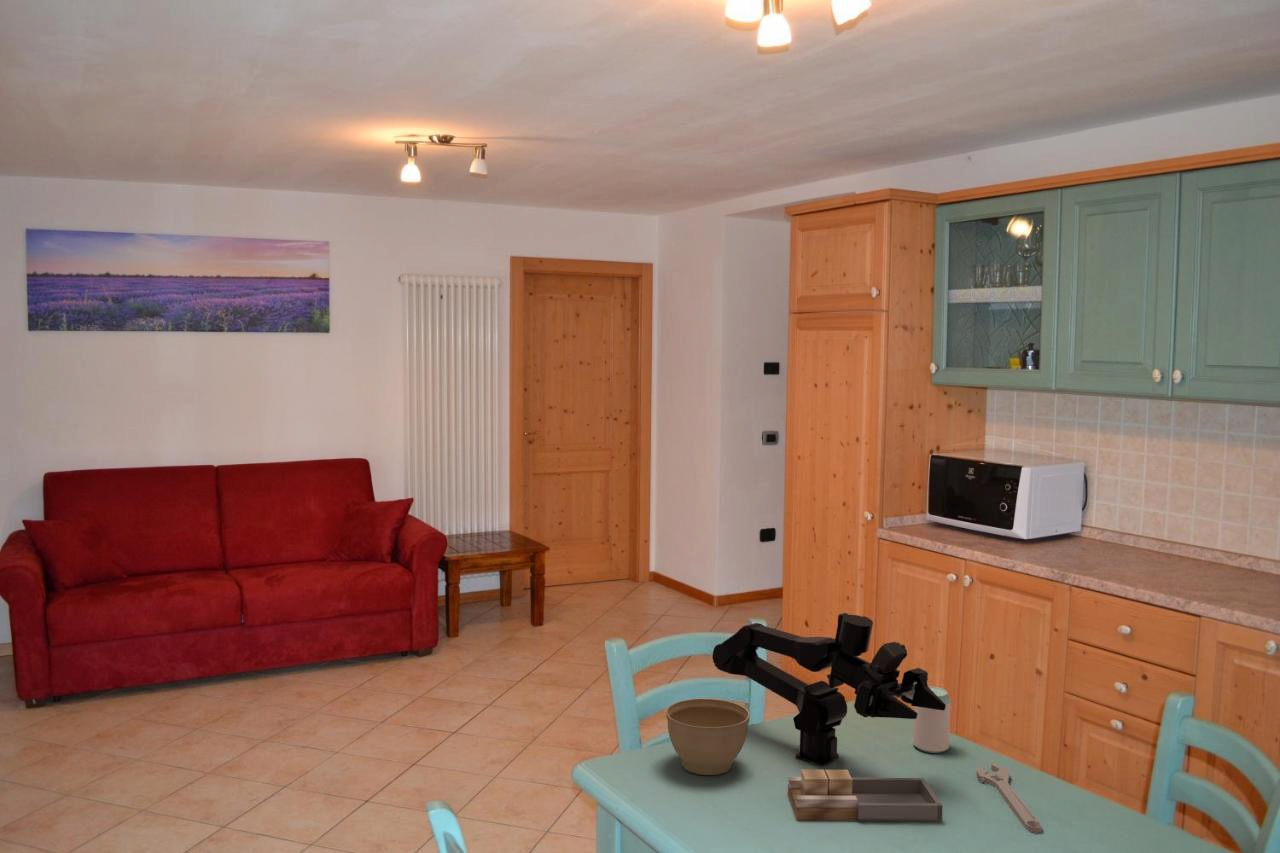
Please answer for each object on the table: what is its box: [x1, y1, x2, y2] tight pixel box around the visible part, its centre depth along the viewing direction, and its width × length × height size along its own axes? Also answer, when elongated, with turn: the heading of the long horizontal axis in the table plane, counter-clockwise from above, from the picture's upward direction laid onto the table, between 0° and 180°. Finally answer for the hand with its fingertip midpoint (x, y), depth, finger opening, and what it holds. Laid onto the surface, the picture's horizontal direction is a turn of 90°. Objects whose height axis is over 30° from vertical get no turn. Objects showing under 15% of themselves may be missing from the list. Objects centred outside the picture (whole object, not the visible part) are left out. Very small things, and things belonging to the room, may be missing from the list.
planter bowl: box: [665, 697, 751, 776], centre depth 193 cm, size 16×16×11 cm
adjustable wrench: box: [975, 763, 1043, 834], centre depth 181 cm, size 25×6×2 cm, turn 174°
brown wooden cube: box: [800, 768, 828, 796], centre depth 177 cm, size 4×4×4 cm
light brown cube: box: [824, 769, 853, 796], centre depth 177 cm, size 4×4×4 cm
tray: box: [851, 777, 944, 823], centre depth 177 cm, size 14×11×3 cm
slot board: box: [787, 776, 858, 822], centre depth 177 cm, size 10×10×4 cm
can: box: [912, 685, 952, 754], centre depth 204 cm, size 7×7×12 cm
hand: (931, 711), depth 178 cm, fingers open, 9 cm apart
